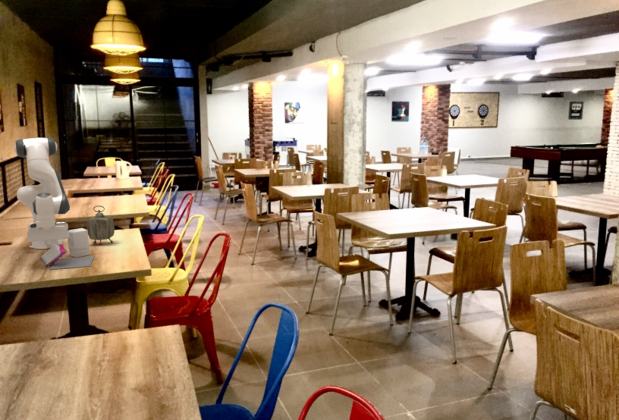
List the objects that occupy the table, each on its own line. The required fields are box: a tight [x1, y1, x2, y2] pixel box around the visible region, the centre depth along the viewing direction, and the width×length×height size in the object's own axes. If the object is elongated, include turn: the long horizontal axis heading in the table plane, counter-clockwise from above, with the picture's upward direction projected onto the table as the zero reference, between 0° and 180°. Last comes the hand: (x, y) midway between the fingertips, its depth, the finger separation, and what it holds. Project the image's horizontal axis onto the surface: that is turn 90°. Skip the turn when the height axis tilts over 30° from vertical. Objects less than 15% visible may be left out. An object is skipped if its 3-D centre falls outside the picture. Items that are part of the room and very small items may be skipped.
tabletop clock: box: [86, 205, 115, 246], centre depth 325 cm, size 14×9×25 cm, turn 92°
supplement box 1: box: [39, 244, 68, 266], centre depth 281 cm, size 6×6×12 cm
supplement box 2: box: [67, 227, 91, 258], centre depth 301 cm, size 9×9×15 cm
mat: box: [49, 255, 95, 271], centre depth 285 cm, size 20×20×1 cm
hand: (49, 248), depth 280 cm, fingers closed
